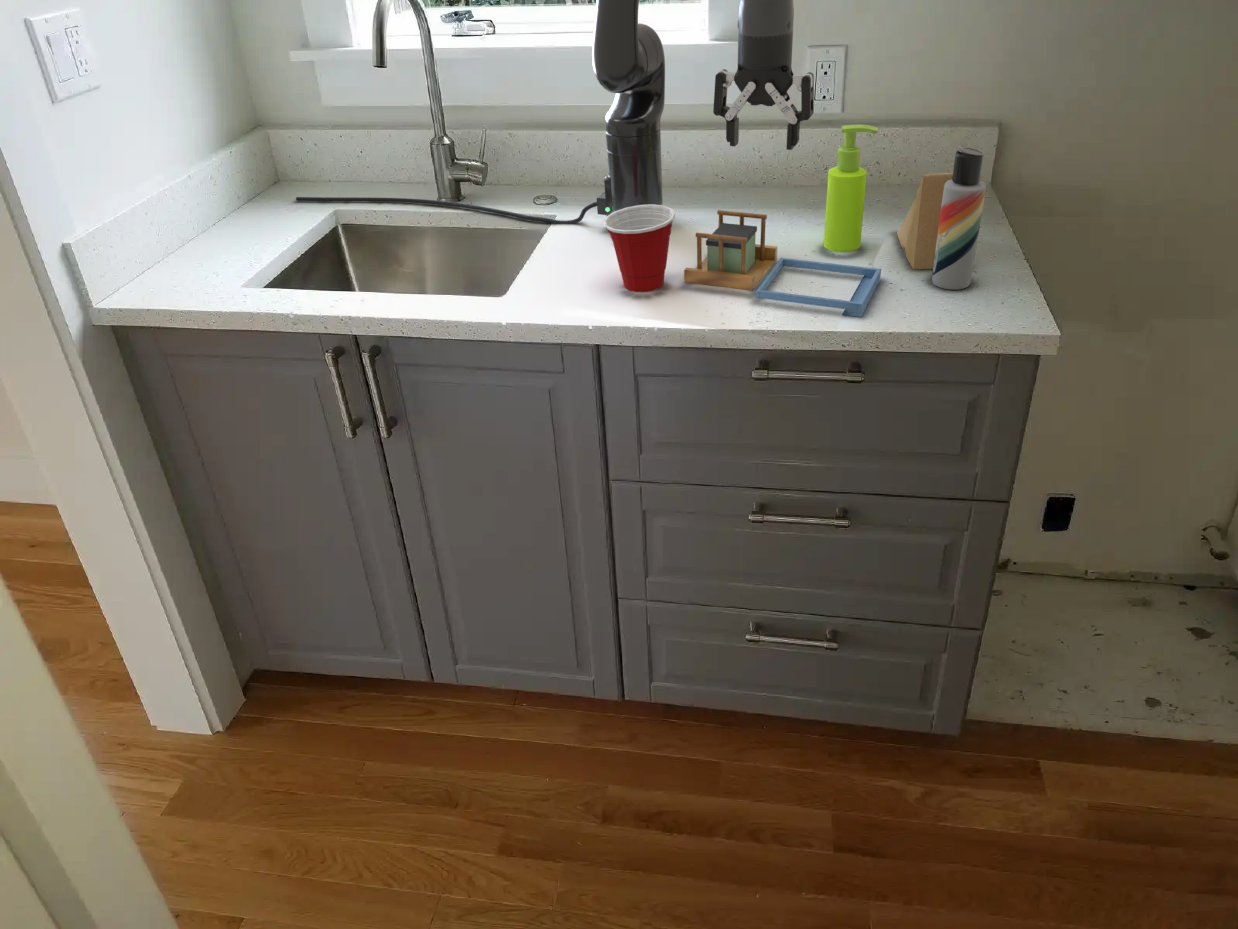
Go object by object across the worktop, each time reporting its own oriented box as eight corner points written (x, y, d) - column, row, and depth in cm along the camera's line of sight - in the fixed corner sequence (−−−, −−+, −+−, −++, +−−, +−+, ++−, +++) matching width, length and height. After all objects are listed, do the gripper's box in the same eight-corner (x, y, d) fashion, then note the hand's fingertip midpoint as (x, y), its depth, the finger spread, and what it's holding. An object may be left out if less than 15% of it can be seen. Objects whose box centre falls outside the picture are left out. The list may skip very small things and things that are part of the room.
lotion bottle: (926, 276, 150) (943, 145, 138) (962, 273, 150) (982, 142, 139) (939, 291, 145) (958, 157, 134) (976, 288, 145) (998, 153, 134)
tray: (755, 303, 145) (755, 290, 144) (780, 269, 155) (780, 257, 154) (861, 317, 140) (862, 304, 138) (879, 280, 149) (881, 268, 148)
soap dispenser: (866, 257, 157) (878, 131, 146) (822, 256, 158) (831, 131, 147) (866, 244, 162) (877, 120, 150) (823, 243, 163) (831, 120, 152)
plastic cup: (608, 276, 156) (604, 203, 150) (676, 274, 156) (674, 200, 149) (606, 305, 147) (601, 229, 141) (677, 302, 147) (676, 226, 140)
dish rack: (684, 287, 151) (683, 234, 146) (712, 256, 161) (712, 206, 156) (752, 296, 147) (753, 242, 142) (776, 264, 157) (778, 212, 152)
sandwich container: (947, 231, 164) (960, 141, 156) (968, 268, 152) (983, 172, 143) (895, 233, 165) (905, 143, 156) (911, 269, 152) (923, 174, 144)
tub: (705, 277, 152) (705, 240, 148) (722, 258, 157) (722, 222, 154) (740, 281, 150) (741, 244, 146) (756, 262, 155) (757, 226, 152)
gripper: (822, 23, 135) (815, 142, 144) (724, 21, 140) (722, 136, 149) (810, 35, 129) (803, 157, 138) (708, 32, 134) (707, 151, 143)
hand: (761, 146), depth 144 cm, fingers open, 8 cm apart
